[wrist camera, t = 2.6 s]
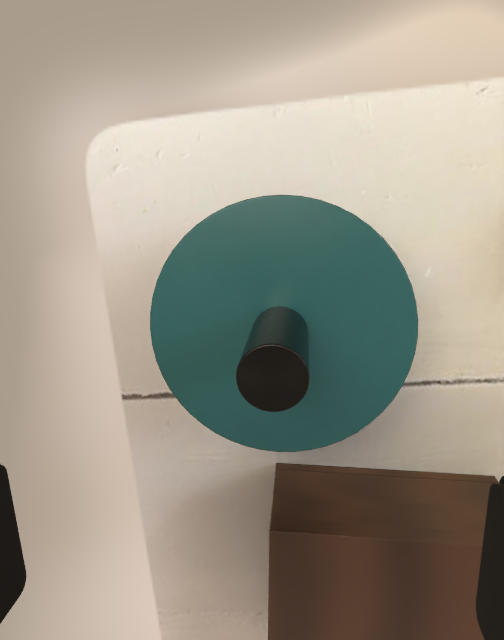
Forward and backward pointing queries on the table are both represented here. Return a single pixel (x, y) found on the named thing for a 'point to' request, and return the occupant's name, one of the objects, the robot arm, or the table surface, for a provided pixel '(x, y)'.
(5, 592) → the robot arm
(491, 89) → the table surface
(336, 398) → the lid
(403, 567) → the wooden box
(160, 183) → the table surface
